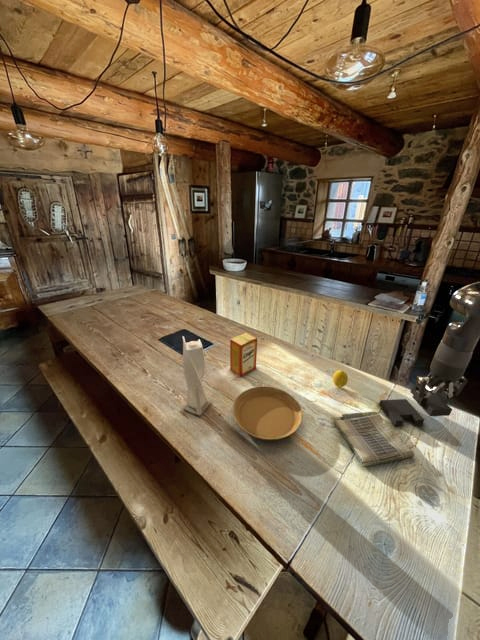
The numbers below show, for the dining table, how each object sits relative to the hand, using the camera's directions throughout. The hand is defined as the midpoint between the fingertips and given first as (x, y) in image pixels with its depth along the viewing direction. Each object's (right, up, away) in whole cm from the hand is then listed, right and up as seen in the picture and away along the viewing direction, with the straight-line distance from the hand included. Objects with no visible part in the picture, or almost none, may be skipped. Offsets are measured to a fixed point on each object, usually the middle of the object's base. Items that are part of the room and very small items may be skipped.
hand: (430, 404), depth 81 cm
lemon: (-18, -2, +28) cm, 33 cm away
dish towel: (-16, -13, +5) cm, 21 cm away
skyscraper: (-74, -6, +17) cm, 77 cm away
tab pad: (0, 0, +1) cm, 1 cm away
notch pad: (-1, -8, +14) cm, 16 cm away
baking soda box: (-57, +4, +37) cm, 68 cm away
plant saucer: (-49, -8, +13) cm, 51 cm away
